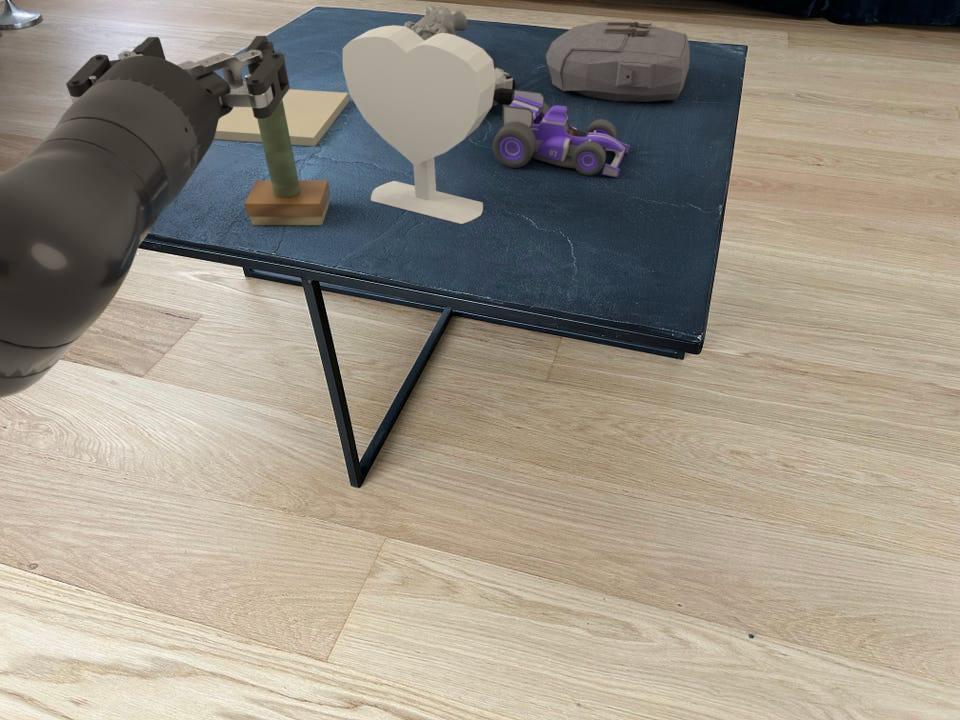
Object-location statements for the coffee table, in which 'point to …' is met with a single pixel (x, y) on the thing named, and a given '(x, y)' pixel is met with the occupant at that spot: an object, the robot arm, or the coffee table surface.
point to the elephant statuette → (438, 22)
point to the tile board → (288, 118)
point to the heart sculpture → (420, 107)
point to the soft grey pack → (620, 61)
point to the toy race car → (554, 138)
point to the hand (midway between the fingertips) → (211, 49)
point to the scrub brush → (284, 182)
